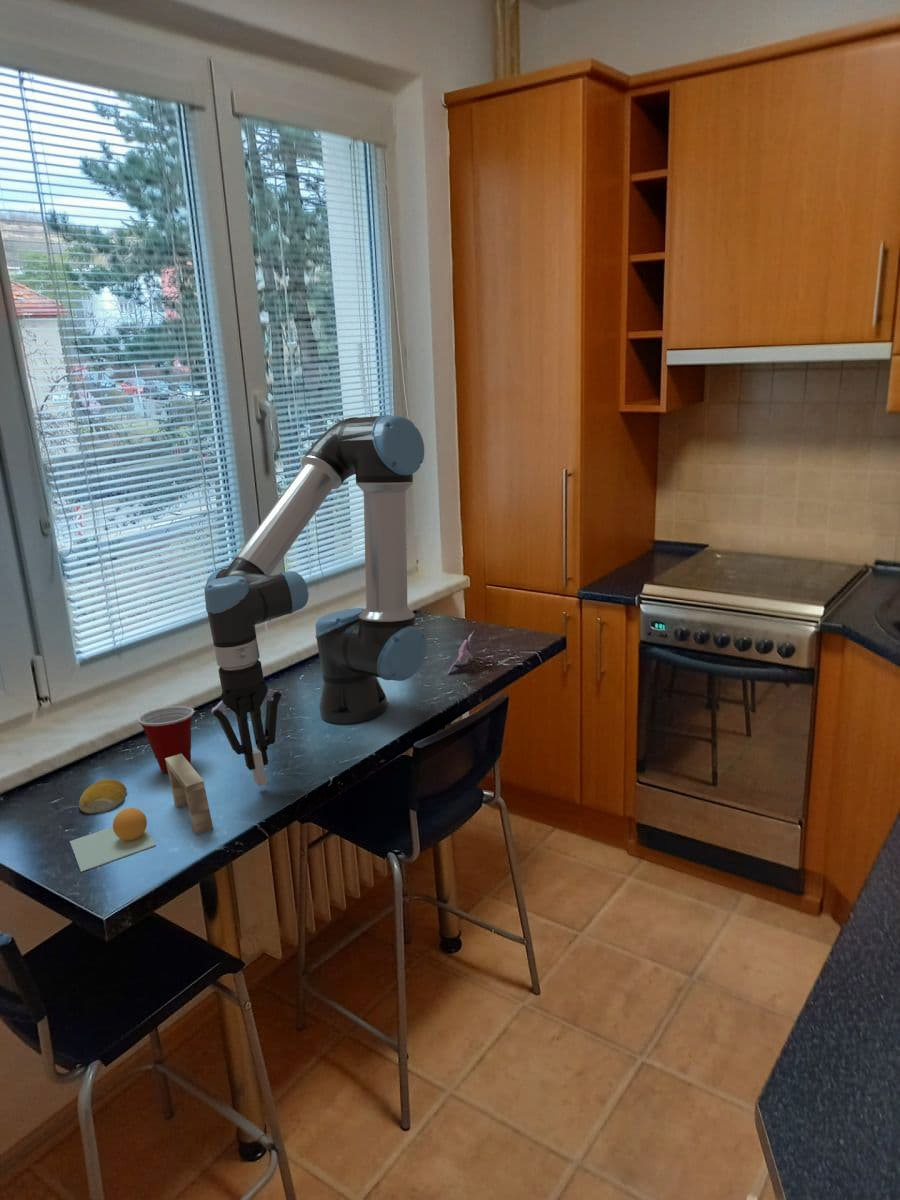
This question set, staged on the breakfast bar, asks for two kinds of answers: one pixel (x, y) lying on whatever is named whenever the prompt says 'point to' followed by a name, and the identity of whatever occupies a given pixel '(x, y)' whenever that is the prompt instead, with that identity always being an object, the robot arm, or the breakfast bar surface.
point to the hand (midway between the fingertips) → (260, 782)
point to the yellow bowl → (102, 796)
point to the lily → (464, 651)
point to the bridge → (189, 792)
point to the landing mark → (107, 848)
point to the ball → (129, 824)
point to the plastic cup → (168, 732)
